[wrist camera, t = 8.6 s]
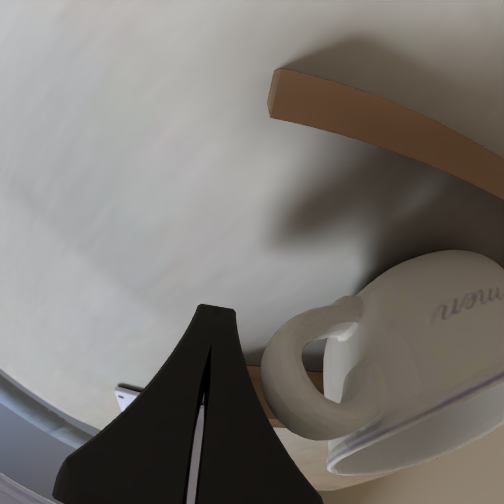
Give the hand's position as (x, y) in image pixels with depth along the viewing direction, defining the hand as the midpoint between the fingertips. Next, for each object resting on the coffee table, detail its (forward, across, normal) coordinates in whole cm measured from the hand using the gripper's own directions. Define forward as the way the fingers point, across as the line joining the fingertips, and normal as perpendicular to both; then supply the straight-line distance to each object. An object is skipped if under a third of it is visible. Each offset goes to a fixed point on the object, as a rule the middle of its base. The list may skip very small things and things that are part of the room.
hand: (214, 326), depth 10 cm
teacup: (+4, -8, 0) cm, 9 cm away
